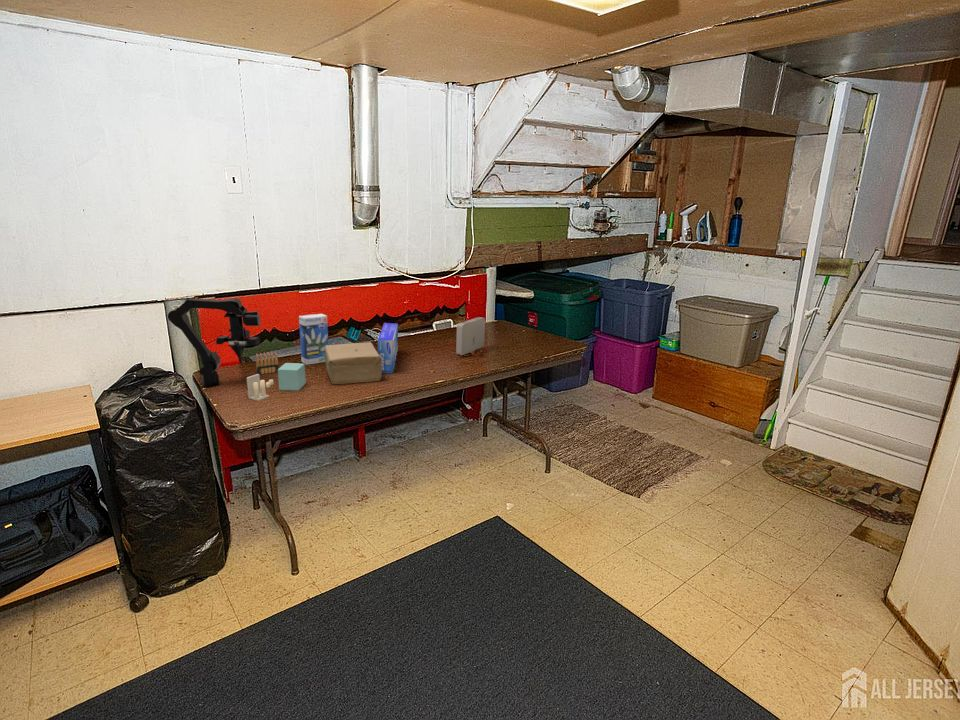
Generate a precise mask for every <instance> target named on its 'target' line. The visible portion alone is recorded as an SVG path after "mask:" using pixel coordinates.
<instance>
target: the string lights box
mask: <svg viewBox="0 0 960 720" xmlns="http://www.w3.org/2000/svg"><path fill="white" fill-rule="evenodd" d="M298 325H299V341H300V357H301V358H300V361H301V362H302V364H305V366H307V365H313V364H314V365H315V364H321V363H326V362H325V347H326V345H329V332H328V331H329V329H328V328H329V327H328V315H326V314H324V313H317V314H316V313H314V314H305V315H298Z"/></svg>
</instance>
